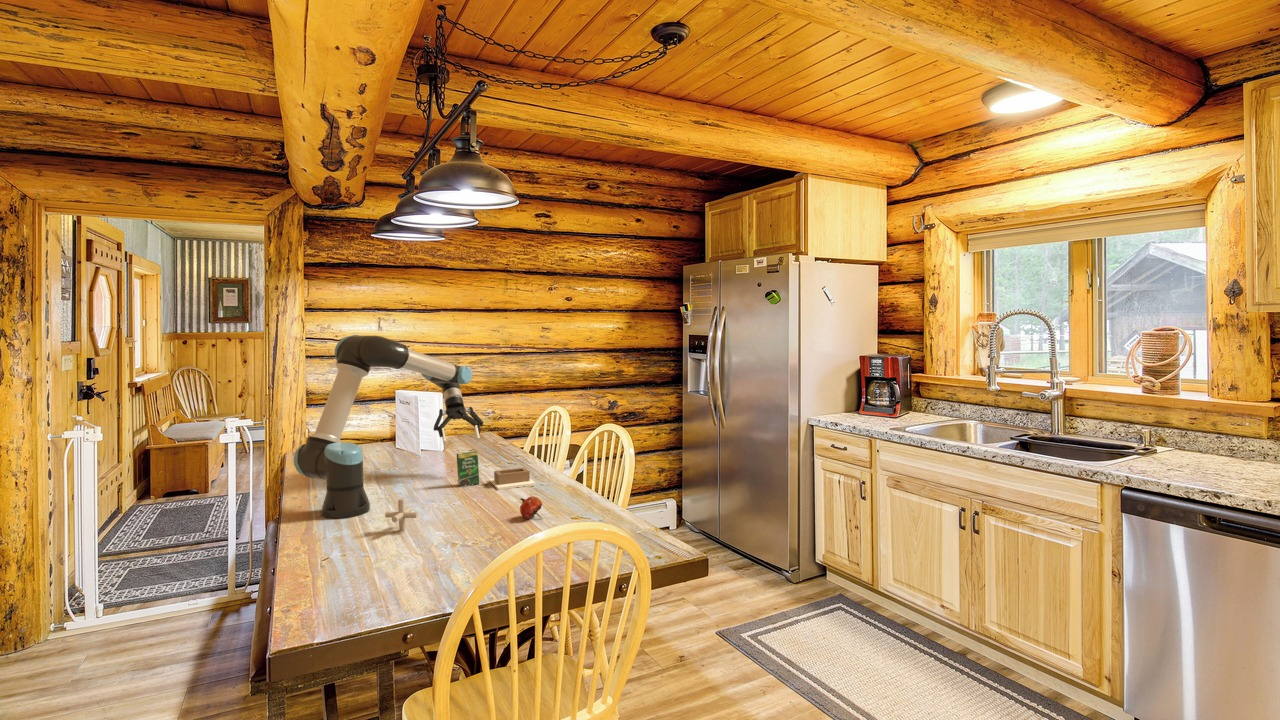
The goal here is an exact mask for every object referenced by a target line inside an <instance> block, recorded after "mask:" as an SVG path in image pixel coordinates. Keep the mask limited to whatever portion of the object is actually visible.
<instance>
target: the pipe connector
mask: <svg viewBox="0 0 1280 720" xmlns="http://www.w3.org/2000/svg"><path fill="white" fill-rule="evenodd" d="M397 504H398V506H397V510H398V511H386V512H385V513H384V516H385V518H388V519H389V518H390V519H391V522H392V523H397V522H398V526H399V527H398V529H399V531H398V532H405V531H406V519H418V518H419V512H416V511H412V510H413V509H412V508H411V507H410V506H408V507H405V498H403V497H402V498H398V499H397Z"/></svg>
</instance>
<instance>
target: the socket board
mask: <svg viewBox="0 0 1280 720" xmlns="http://www.w3.org/2000/svg"><path fill="white" fill-rule="evenodd" d="M530 475H531V473H530V470H528V469H527V468H525V467H518V468H508V469H500V470H494V471H493V476H494V477H493V478H489V479H488V482H489V481H490V482H491V483H492V484H493V485H494V486H495V487H496V488H497V489H498V490H497V489H496V488H495V487H494V486H493V485H492V484H491V483H490V482H489V483H490V484H491V485H492V486H493V487H494V488H495V489H496V490H497V491H500V490H499V489H504V490H507V489H506V488H512V489H515V488H514V487H519V488H524V487H523V486H527V487H533V485H535V486H537V485H536V484H537V483H536V482H535V481H534V480H533V479H532V478H530V477H531V476H530Z"/></svg>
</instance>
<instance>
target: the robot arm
mask: <svg viewBox="0 0 1280 720" xmlns="http://www.w3.org/2000/svg"><path fill="white" fill-rule="evenodd" d="M334 356H335V360H336V363H335V367H336V369H337V373H336V376H335V379H334V381H333V384H332V386H331V390H330V392H329V395H328V397H327V400H326V402H325V404H324V408H323V410H322V412H321V415H320V418H319V420H318V422H317V423H318V424H317V427H316V430H315V431H314V433H312V434H310V435H308V437H307V439H306V442H305V443H303V444H302V445H300V446H299V447H298V448H297V449H296V450H295V452H294V456H293V466H294V467H295V469H296V471H297V472H298V474H300V475H301V476H304V477H307V478H311V479H319V480H324V481H325V483H326V486H325V487H326V493H325V496H324V500H323V503H322V506H321V516H322V517H324V518H326V519H327V518H328V519H345V518H352V517H357V516H361V515H364V514H365V513H367V512H369V511H370V510H371V503H370V500H369V498H368V496H367V493H366V490H365V488H364V487H365V486H364V456H363V450H362V447H361V446H360V445H359V444H356V443H353V442H344V441H343V442H342V441H341V437H342V434H343V432H344V430H345V426H346V425H347V422H348V419H349V418H348V417H349V415H350V413H351V410H352V407H353V404H354V401H355V399H356V396H357V393H358V390H359V389H360V388H359V387H360V386H361V382H362V380H363V378H364V377H367V376H369V373H370V370H371V368H390V369H396V370H400V369H405V370H408V371H411V372H415V373H418V374H421V376H422V377H423V378H424V379H426V380H427V381H429V382H430V383H432V384H434V385H436V386H437V387H439V388H440V389H441V390H442V394H443V399H444V400H443V401H444V404H445V405H444V406H445V409H446V410H443V409H442V408H440V409H439V411H438V415H437V419H436V421H435V423H434V425H433V431H434V432H435V431H437V433H438V435H439V438H442V442H443V443H442V444H443V446H445V445H446V444H447V438H446V433H445V427H446V426H447V424H448V423H449V422H450V421H451V420H453V421H455V420H461V419H462V420H463V421H465V422H467V423H469V424H470V425H472V426H473V427H474V434H475V438H476V442H477V443H478V442H480V438H481V436H480V435H481V431H482V430H481V427H484V421H483V419H481V417H479V415H478V414H477V413H476V412H475V411H474V409H473V407H472V406H470V407H469V408H465V404H464V403H465V402H464V399H463V396H462V390H461V385H468V384H469V383H471V381H472V380H473V371H472V369H471V367H469V366H464V365H457V364H454V363H451V362H448V361H445V360H443V359H440V358H437V357H433V356H431V355H428V354H425V353H422V352H419V351H415V350H413V349H409V347H408V346H407V345H406V344H403V343H401V342H398V341H396V340H392V339H390V338H387V337H384V336H381V335H360V334H352V335H348V336H345V337H343V338H341V339H340V340H339V341H338V342H337V344H336V345H335V348H334ZM468 414H469V415H468ZM445 415H446V417H445V418H444V419H443V421H442V422H441V420H442V418H443V416H445ZM440 422H441V424H440Z"/></svg>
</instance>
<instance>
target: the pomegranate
mask: <svg viewBox="0 0 1280 720" xmlns="http://www.w3.org/2000/svg"><path fill="white" fill-rule="evenodd" d="M519 501H521V505H520V507H519V512H520V515H521V516H522V517H523V518H524V519H526V520H529V519H532V517H534V516H536V515H537V516H538V517H539V518H541V519H542V520H543V518H542V517H541V515H539V514H538V512H539V511H540V510H541V508H542V507H543V505H544V503H543V502H542V500H541V499H540V498H539V497H536V496H529V497H527V498H523V497H520V499H519Z"/></svg>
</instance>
